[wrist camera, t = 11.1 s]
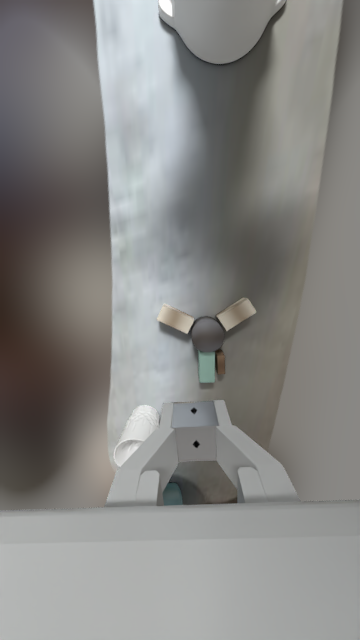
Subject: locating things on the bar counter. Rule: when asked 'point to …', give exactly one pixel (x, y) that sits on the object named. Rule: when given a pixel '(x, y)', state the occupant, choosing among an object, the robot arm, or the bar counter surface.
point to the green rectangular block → (206, 366)
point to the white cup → (136, 432)
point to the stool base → (208, 327)
